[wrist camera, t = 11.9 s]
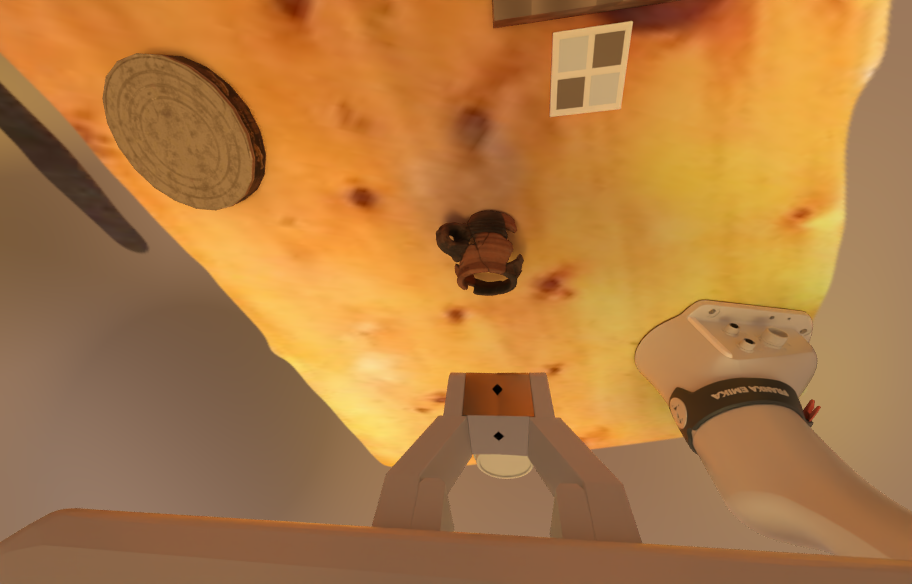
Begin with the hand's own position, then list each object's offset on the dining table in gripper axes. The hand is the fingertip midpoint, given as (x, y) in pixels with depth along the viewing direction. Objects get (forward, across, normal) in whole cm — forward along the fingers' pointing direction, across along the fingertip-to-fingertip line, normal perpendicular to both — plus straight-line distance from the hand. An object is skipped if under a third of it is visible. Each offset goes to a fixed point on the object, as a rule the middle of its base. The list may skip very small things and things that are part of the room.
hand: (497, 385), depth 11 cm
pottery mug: (+33, -2, -10) cm, 34 cm away
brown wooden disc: (+33, -34, +6) cm, 48 cm away
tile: (+33, +10, +8) cm, 35 cm away
